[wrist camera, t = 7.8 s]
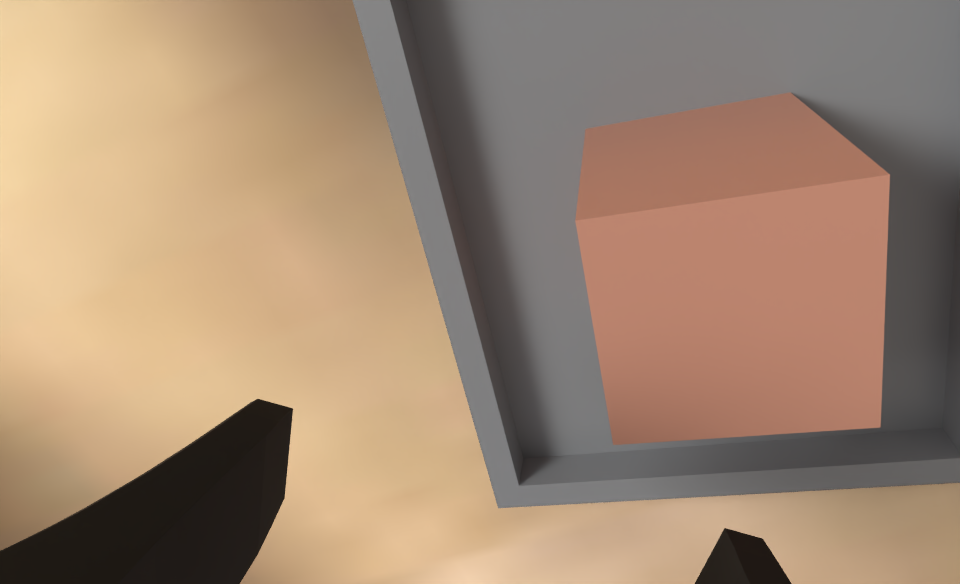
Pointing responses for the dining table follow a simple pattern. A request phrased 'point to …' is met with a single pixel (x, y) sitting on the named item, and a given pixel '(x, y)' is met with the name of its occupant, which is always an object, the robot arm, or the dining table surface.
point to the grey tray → (553, 203)
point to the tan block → (734, 272)
